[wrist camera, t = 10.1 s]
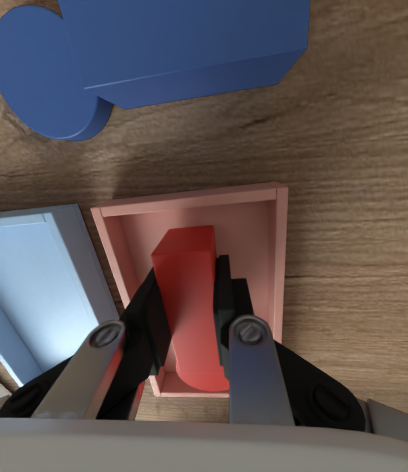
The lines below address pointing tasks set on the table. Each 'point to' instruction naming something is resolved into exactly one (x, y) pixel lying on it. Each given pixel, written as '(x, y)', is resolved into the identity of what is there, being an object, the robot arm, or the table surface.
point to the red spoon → (191, 303)
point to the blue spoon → (140, 56)
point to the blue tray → (47, 289)
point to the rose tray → (227, 242)
